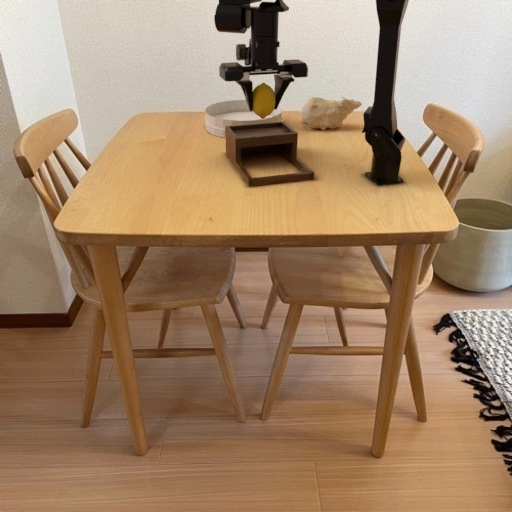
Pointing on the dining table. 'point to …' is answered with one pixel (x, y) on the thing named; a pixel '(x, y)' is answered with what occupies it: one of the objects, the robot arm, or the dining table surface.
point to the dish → (234, 116)
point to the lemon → (263, 100)
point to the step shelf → (265, 149)
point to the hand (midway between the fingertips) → (263, 110)
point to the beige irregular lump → (327, 112)
